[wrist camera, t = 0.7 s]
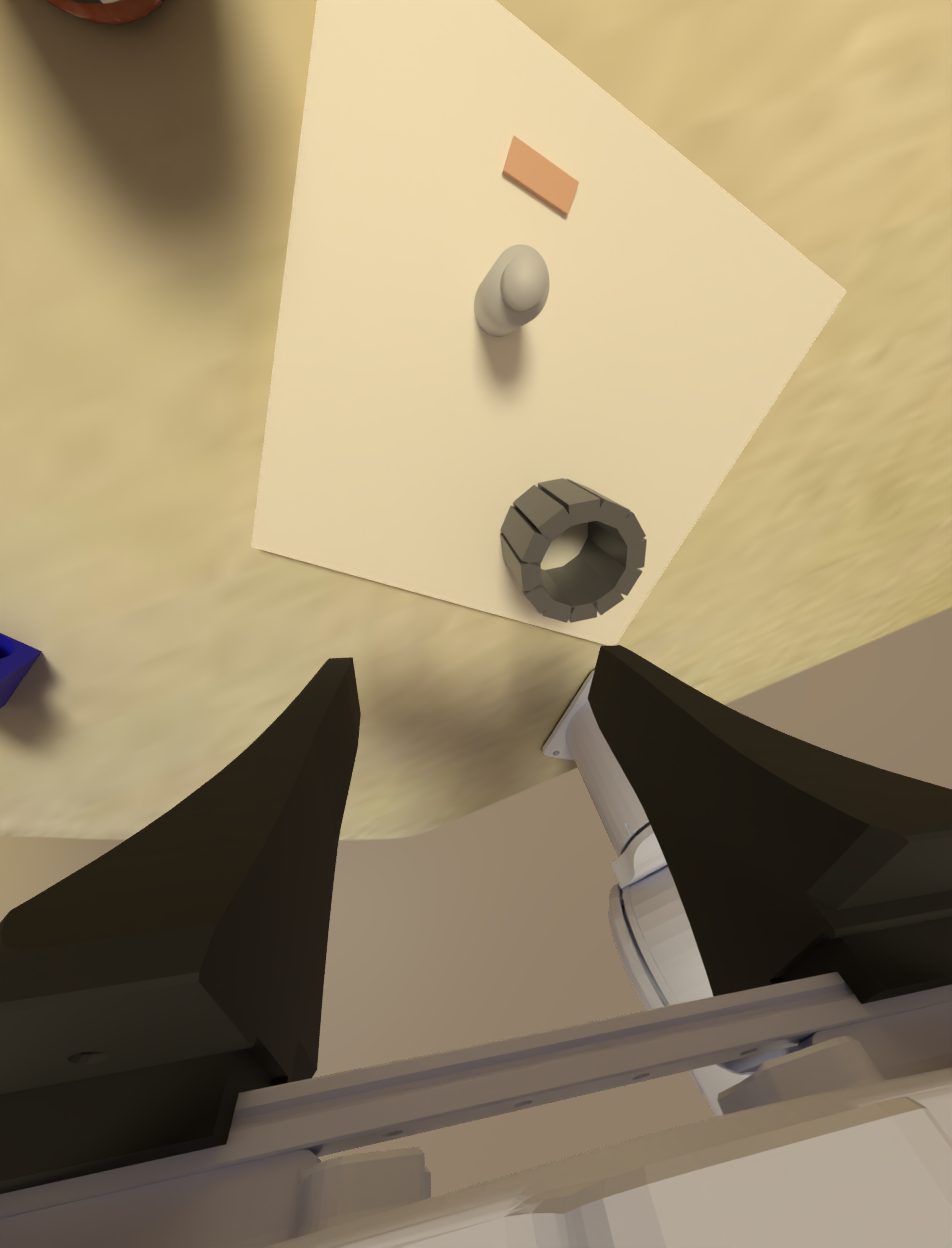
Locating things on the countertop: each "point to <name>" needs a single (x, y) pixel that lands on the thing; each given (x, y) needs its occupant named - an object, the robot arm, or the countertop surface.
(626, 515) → the grey grooved ring
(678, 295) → the socket plate
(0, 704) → the blue curved bracket
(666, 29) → the countertop surface
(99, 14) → the supplement bottle
